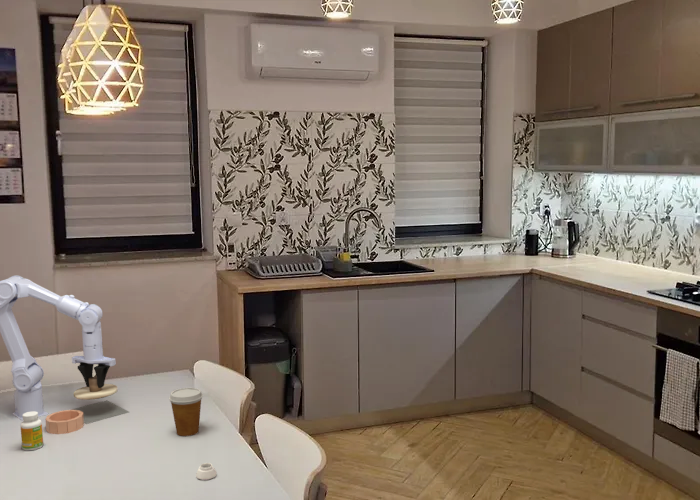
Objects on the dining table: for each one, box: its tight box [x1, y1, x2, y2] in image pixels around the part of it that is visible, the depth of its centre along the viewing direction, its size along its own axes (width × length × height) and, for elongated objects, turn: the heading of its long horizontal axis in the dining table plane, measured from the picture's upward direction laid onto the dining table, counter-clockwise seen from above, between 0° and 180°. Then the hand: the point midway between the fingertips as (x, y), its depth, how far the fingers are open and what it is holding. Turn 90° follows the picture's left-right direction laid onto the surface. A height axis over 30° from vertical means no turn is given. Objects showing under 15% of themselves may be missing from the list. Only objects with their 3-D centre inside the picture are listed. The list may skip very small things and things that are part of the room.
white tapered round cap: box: [195, 462, 218, 481], centre depth 179 cm, size 5×3×5 cm
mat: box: [70, 399, 130, 425], centre depth 225 cm, size 16×14×1 cm
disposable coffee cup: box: [168, 387, 204, 437], centre depth 207 cm, size 10×10×12 cm
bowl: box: [45, 409, 85, 435], centre depth 212 cm, size 10×10×4 cm
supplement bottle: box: [20, 411, 44, 451], centre depth 198 cm, size 5×5×10 cm
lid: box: [73, 375, 119, 401], centre depth 224 cm, size 13×13×5 cm
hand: (95, 386), depth 224 cm, fingers closed on lid, 4 cm apart
